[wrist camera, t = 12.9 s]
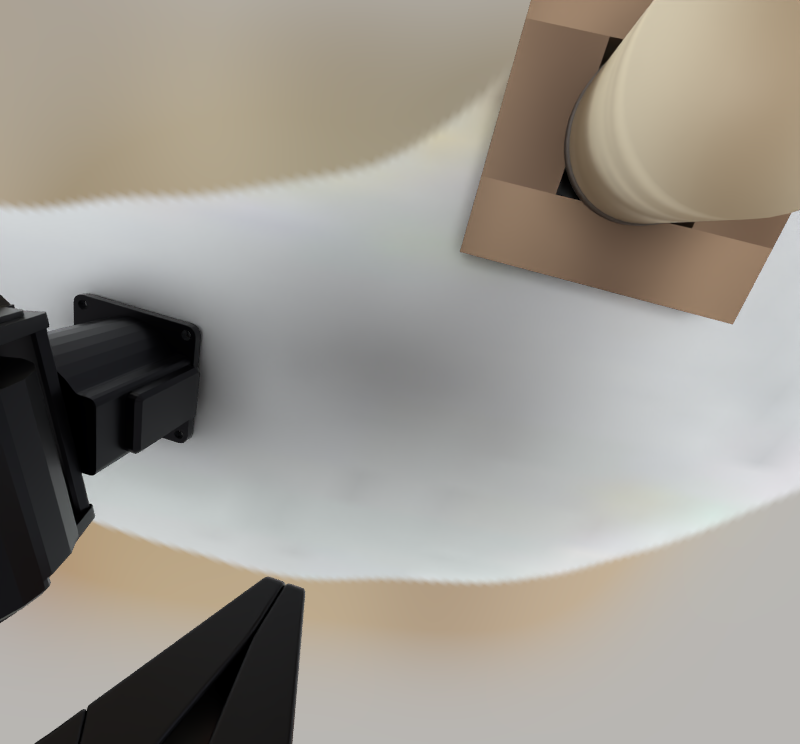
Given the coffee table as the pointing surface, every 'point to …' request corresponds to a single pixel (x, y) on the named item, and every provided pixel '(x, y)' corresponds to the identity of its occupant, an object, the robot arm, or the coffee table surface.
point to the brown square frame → (571, 219)
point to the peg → (693, 116)
